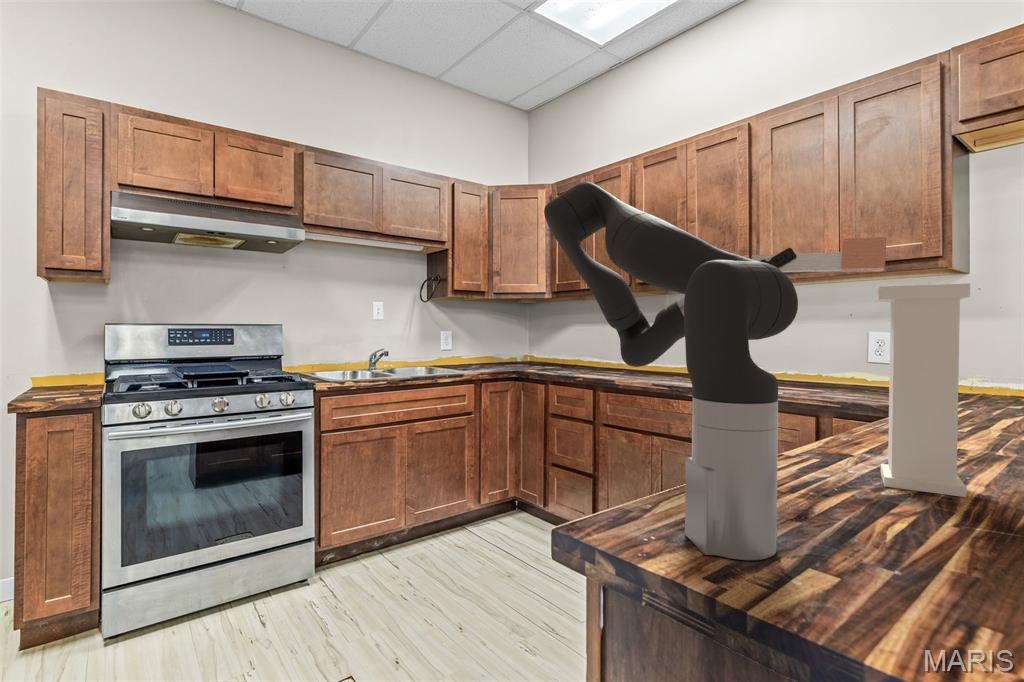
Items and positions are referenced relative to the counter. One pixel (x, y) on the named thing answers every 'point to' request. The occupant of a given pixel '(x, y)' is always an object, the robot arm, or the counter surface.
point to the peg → (840, 258)
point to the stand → (923, 387)
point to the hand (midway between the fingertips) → (794, 253)
